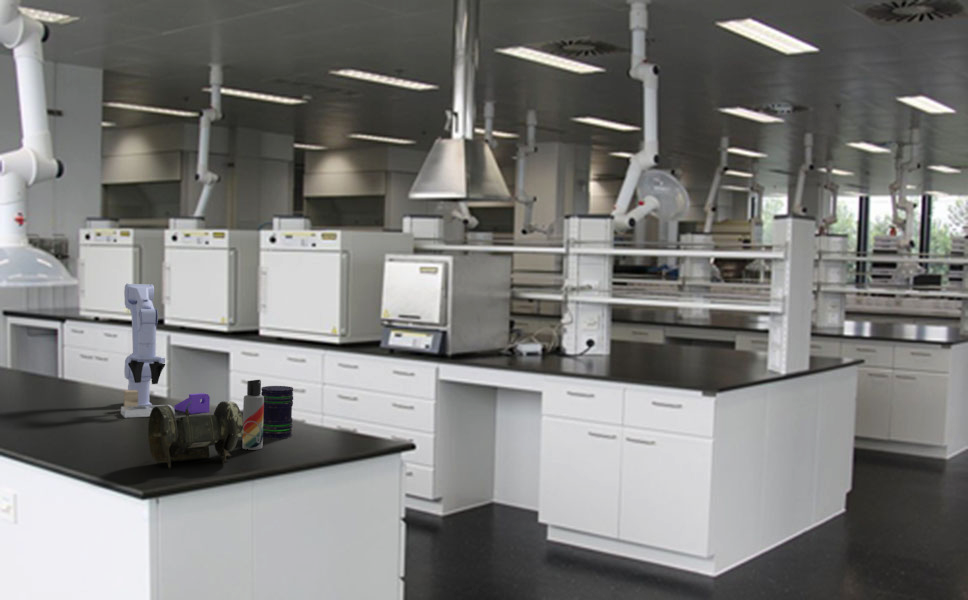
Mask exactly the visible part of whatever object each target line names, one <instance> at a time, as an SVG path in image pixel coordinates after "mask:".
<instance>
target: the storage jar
mask: <svg viewBox="0 0 968 600" xmlns="http://www.w3.org/2000/svg"><path fill="white" fill-rule="evenodd" d="M293 391H294V387H292V386H285V385H267V386H261V395H262V396H264V412H263V437H264V438H263V439H268V438H272V439H274V440H281V438H284V439H288V437H289V438H291V437H293V434H292V432H293V417H292V416H293V415H292V413H293V405H294V392H293ZM272 439H271V440H272Z"/></svg>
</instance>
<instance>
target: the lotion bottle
mask: <svg viewBox="0 0 968 600" xmlns="http://www.w3.org/2000/svg"><path fill="white" fill-rule="evenodd" d="M246 384H247V386H246V395H244V396H243V403H242V404H243V405H242V408H243V409H242V420H243V429H244V434H243V437H242V442H241V443H242V446H241V447H242V449H243V450H247V449H248V450H249V451H255V450H261V449H263V442H264V438H263V412H264V396H262V395H261V392H262V391H261V388H262V380H261V379H253V380H252V379H251V380H247V383H246ZM248 450H247V451H248Z"/></svg>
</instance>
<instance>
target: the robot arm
mask: <svg viewBox="0 0 968 600" xmlns="http://www.w3.org/2000/svg"><path fill="white" fill-rule="evenodd" d="M123 290H124V291H123V294H124V305H125V306H124V307H125V308H126V309H128V310H130V315H131V331H132V332H131V334H132V335H131V336H132V337H131V338H132V353H131V354H129V355H127V356H126V357H125V360H124V369H123V370H124V371H123V373H124V378H125V380H128V385H127V390H137V391H138V406H150V405H153V403H152V402H150V392H151V390H150V388H151V387H150V384H151V385H157V384H158V383H159V380H160V376H161V374H162V372H163V370H164V368H165V366H166V356H165V357H164V356H163V357H162V356H156V354H157V352H156V350H157V349H156V348H157V346H156V345H157V343H156V342H157V326H158V323H159V322H158V321H159V311H158V308H155V307H154V298H155V286H154V285H153V284H152V283H150V284H148V283H147V284H145V283H126V284H125V285H124V289H123ZM150 381H151V382H150Z"/></svg>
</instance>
